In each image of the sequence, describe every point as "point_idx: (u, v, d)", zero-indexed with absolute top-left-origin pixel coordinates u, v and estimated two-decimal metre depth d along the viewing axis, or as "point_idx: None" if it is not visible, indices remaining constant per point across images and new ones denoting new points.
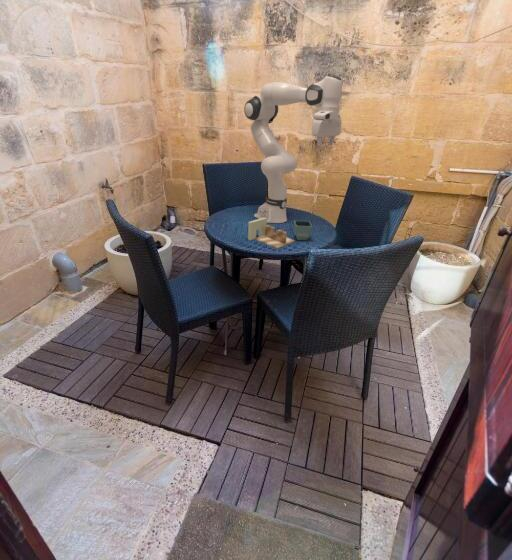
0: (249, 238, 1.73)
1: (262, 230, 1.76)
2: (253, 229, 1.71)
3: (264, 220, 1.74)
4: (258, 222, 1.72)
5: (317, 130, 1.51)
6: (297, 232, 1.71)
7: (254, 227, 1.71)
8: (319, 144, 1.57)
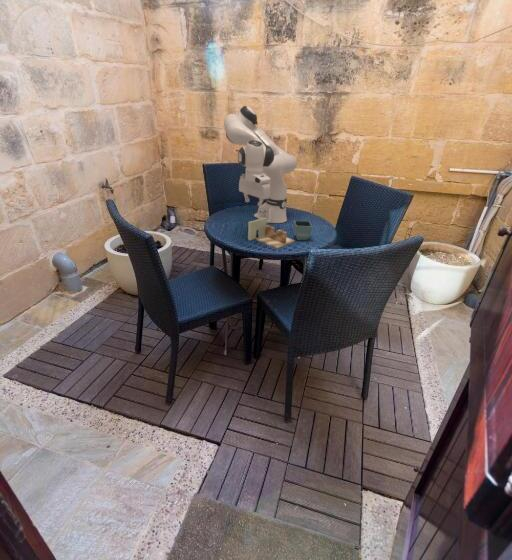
0: (249, 238, 1.73)
1: (262, 230, 1.76)
2: (253, 229, 1.71)
3: (264, 220, 1.74)
4: (258, 222, 1.72)
5: (269, 193, 1.56)
6: (297, 232, 1.71)
7: (254, 227, 1.71)
8: (261, 204, 1.61)
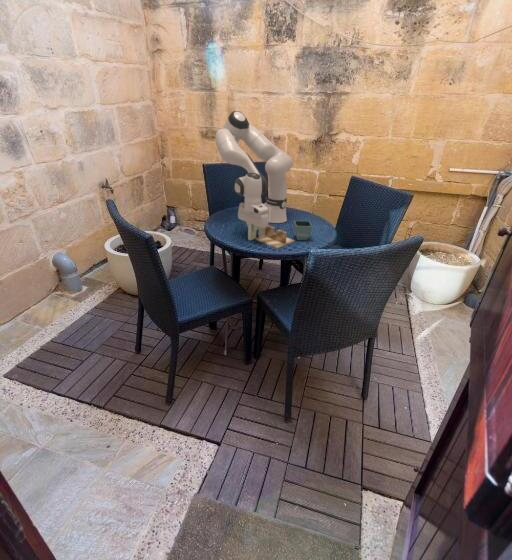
0: (249, 238, 1.73)
1: (262, 230, 1.76)
2: None
3: None
4: None
5: (267, 222, 1.63)
6: (297, 232, 1.71)
7: None
8: (255, 230, 1.71)
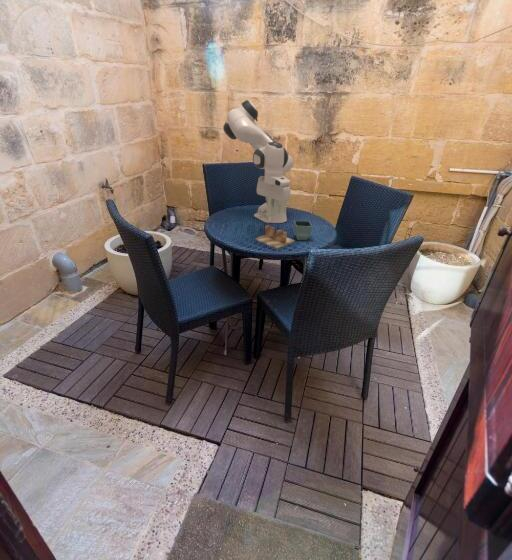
0: (268, 214, 1.61)
1: (282, 206, 1.65)
2: None
3: None
4: None
5: (289, 196, 1.52)
6: (297, 232, 1.71)
7: None
8: (275, 206, 1.59)
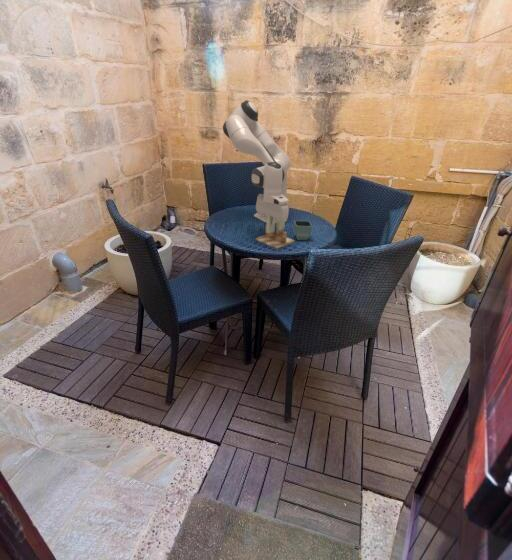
0: (267, 231, 1.66)
1: (280, 223, 1.70)
2: None
3: None
4: None
5: (287, 214, 1.56)
6: (297, 232, 1.71)
7: None
8: (274, 223, 1.64)
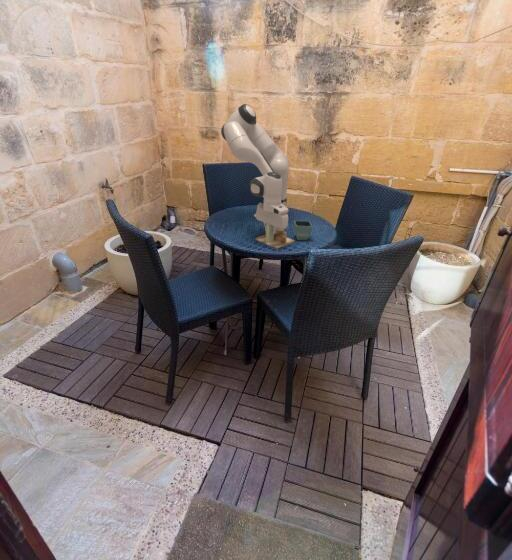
0: (267, 240, 1.68)
1: None
2: (271, 231, 1.67)
3: None
4: None
5: (287, 223, 1.59)
6: (297, 232, 1.71)
7: (272, 229, 1.67)
8: (275, 232, 1.66)
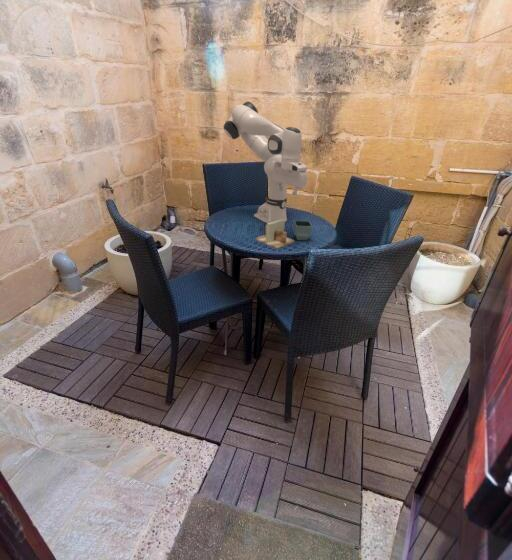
0: (267, 240, 1.68)
1: None
2: (271, 231, 1.67)
3: (282, 222, 1.70)
4: (276, 224, 1.67)
5: (305, 181, 1.53)
6: (297, 232, 1.71)
7: (272, 229, 1.67)
8: (296, 193, 1.58)
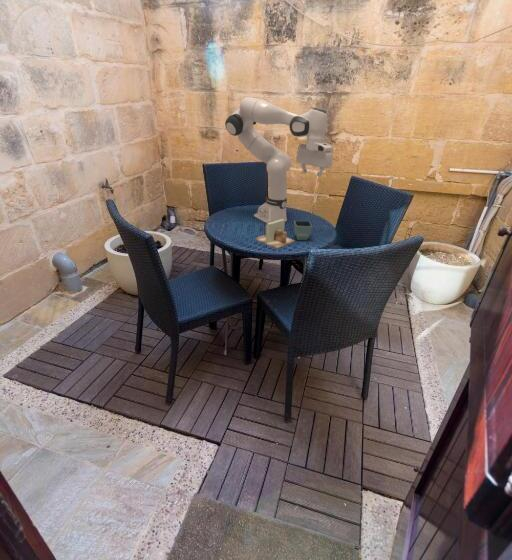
0: (267, 240, 1.68)
1: None
2: (271, 231, 1.67)
3: (282, 222, 1.70)
4: (276, 224, 1.67)
5: (331, 162, 1.54)
6: (297, 232, 1.71)
7: (272, 229, 1.67)
8: (320, 174, 1.60)
